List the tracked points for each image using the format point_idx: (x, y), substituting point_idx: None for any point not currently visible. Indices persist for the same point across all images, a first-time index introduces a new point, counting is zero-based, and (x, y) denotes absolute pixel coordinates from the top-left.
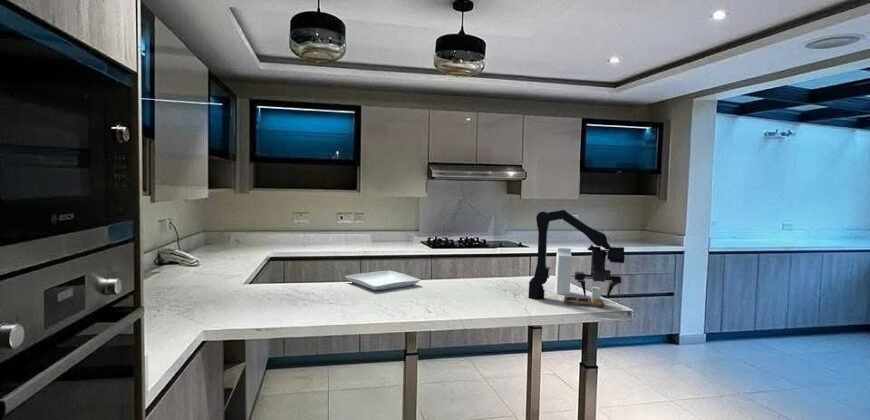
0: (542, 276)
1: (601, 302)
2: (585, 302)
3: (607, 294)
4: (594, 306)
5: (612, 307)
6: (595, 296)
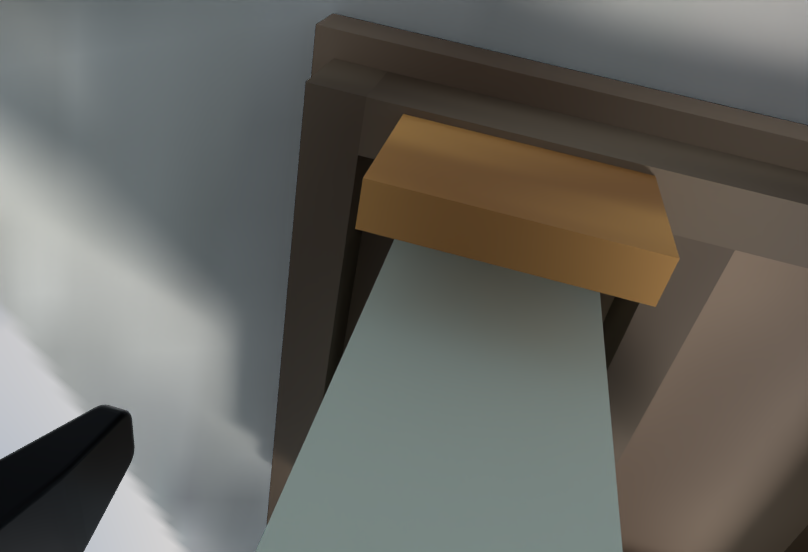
0: None
1: (322, 349)
2: (642, 490)
3: (45, 490)
4: (605, 131)
5: (125, 273)
6: (523, 431)
